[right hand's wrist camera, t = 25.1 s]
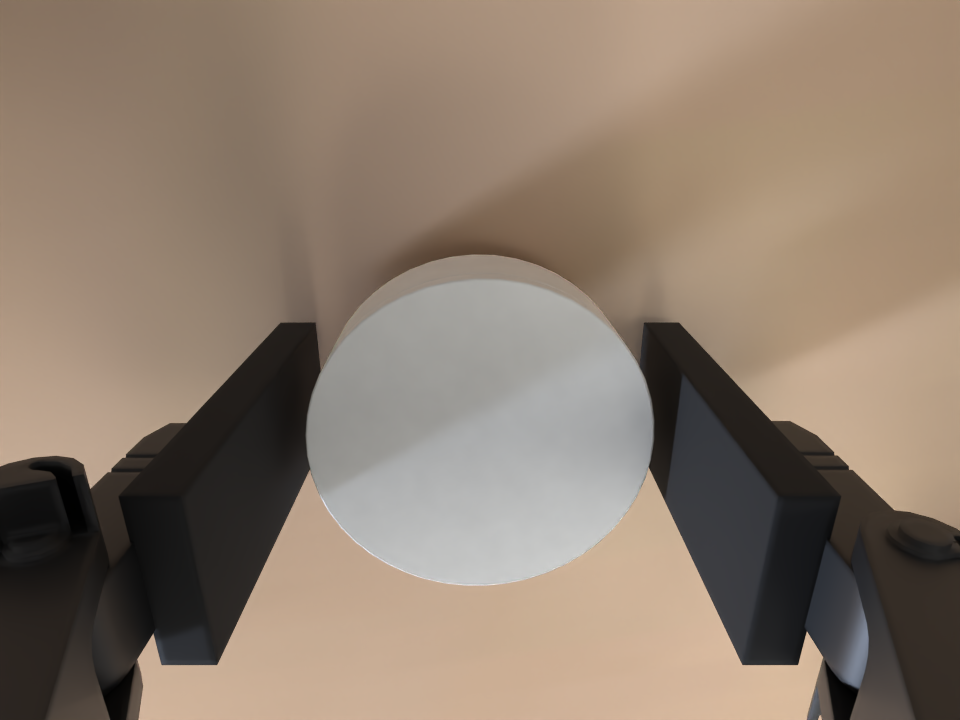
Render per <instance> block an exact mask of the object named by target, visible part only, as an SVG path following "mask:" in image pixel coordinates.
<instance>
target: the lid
mask: <svg viewBox="0 0 960 720" xmlns="http://www.w3.org/2000/svg"><path fill="white" fill-rule="evenodd" d="M305 436H306V449H307V457H308V462H309V466H310V470H311V475H312V477H313V480H314V482H315V485H316V488H317V490H318V493H319V495H320V497H321V498H322V500H323V502H324V504H325V505H326V507H327V509H328V511H329V512H330V514H331V515H332V516H333V518H334V519H335V520H336V521H337V523H338V524H339V525H340V527H341V528H342V529H343V530H344V531H345V532H346V533H347V534H348V535H349V536H350V537H351V538H352V539H353V540H354V541H355V542H356V543H358V544H359V545H360V546H361V547H363V548H364V549H365V550H366V551H368V552H369V553H370V554H372V555H374V556H375V557H377V558H378V559H380V560H382V561H383V562H385V563H387V564H389V565H391V566H393V567H395V568H397V569H399V570H402V571H404V572H406V573H409V574H412V575H415V576H418V577H421V578H424V579H428V580H432V581H437V582H442V583H447V584H457V585H496V584H506V583H511V582H516V581H521V580H525V579H529V578H532V577H535V576H538V575H541V574H545V573H547V572H550V571H552V570H554V569H556V568H559V567H561V566H563V565H565V564H567V563H569V562H570V561H572V560H574V559H576V558H577V557H579V556H581V555H582V554H584V553H585V552H587V551H588V550H589V549H591V548H592V547H593V546H595V545H596V544H597V543H599V542H600V541H601V540H602V539H603V538H604V537H605V536H606V535H607V534H608V533H609V532H610V531H611V530H612V529H613V528H614V527H615V526H616V525H617V524H618V522H619V521H620V520H621V519H622V518H623V516H624V515H625V514H626V513H627V511H628V510H629V508H630V506H631V505H632V503H633V502H634V500H635V499H636V497H637V495H638V493H639V491H640V489H641V486H642V484H643V482H644V480H645V477H646V474H647V471H648V467H649V464H650V461H651V456H652V450H653V443H654V414H653V407H652V399H651V396H650V393H649V389H648V386H647V383H646V379H645V377H644V375H643V373H642V371H641V369H640V367H639V365H638V362H637V360H636V359H635V357H634V356H633V354H632V353H631V351H630V350H629V348H628V347H627V345H626V344H625V342H624V341H623V340H622V338H621V337H620V336H619V334H618V333H617V331H616V330H615V329H614V327H613V326H612V325H611V323H610V322H609V321H608V319H607V318H606V316H605V315H604V314H603V312H602V311H601V310H600V309H599V308H598V307H597V305H596V304H595V303H594V302H593V301H592V300H591V299H590V298H589V297H588V296H587V295H586V294H585V293H584V292H582V291H581V290H580V289H579V288H578V287H576V286H575V285H574V284H573V283H571V282H569V281H568V280H566V279H565V278H563V277H561V276H560V275H558V274H557V273H555V272H552V271H550V270H548V269H546V268H543V267H541V266H539V265H537V264H533V263H530V262H527V261H523V260H520V259H517V258H511V257H504V256H498V255H476V254H472V255H463V256H453V257H448V258H444V259H439V260H435V261H431V262H428V263H425V264H423V265H420V266H418V267H415V268H412V269H410V270H408V271H406V272H404V273H402V274H401V275H399V276H397V277H395V278H393V279H391V280H390V281H389V282H387V283H386V284H384V285H383V286H382V287H380V288H379V289H378V290H376V291H375V292H374V293H373V294H372V295H371V296H370V297H369V298H368V299H366V300H365V301H364V302H363V303H362V304H361V305H360V306H359V308H358V309H357V310H356V311H355V313H354V314H353V315H352V317H351V318H350V319H349V320H348V322H347V323H346V325H345V327H344V329H343V330H342V332H341V334H340V336H339V337H338V339H337V341H336V343H335V345H334V347H333V349H332V351H331V353H330V355H329V357H328V358H327V360H326V362H325V364H324V366H323V368H322V370H321V372H320V374H319V377H318V379H317V382H316V384H315V387H314V389H313V392H312V394H311V399H310V403H309V408H308V412H307V421H306V434H305Z"/></svg>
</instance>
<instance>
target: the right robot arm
mask: <svg viewBox="0 0 960 720" xmlns="http://www.w3.org/2000/svg"><path fill="white" fill-rule="evenodd" d="M640 369H641V371H642V373H643V375H644V377H645V379H646V383H647V386H648V389H649V393H650V396H651V399H652V407H653V414H654V443H653V450H652V456H651V461H650V464H649V468H650V471H651V473H652V475H653V477H654V479H655V481H656V483H657V485H658V487H659V490H660V492H661V494H662V496H663V498H664V500H665V502H666V504H667V506H668V509H669V511H670V513H671V515H672V517H673V519H674V521H675V523H676V525H677V528H678V530H679V532H680V534H681V536H682V538H683V540H684V542H685V544H686V547H687V549H688V551H689V553H690V555H691V557H692V559H693V561H694V563H695V566H696V568H697V570H698V572H699V574H700V576H701V578H702V580H703V582H704V585H705V587H706V589H707V591H708V593H709V595H710V597H711V599H712V601H713V604H714V606H715V608H716V610H717V612H718V614H719V616H720V618H721V620H722V623H723V625H724V627H725V629H726V631H727V633H728V635H729V637H730V640H731V642H732V644H733V646H734V648H735V650H736V652H737V654H738V656H739V659H740V661H741V663H742V665H798V663H799V659H800V655H801V651H802V647H803V643H804V640H805V636H806V632H808V633H809V635H810V637H811V638H812V640H813V641H814V643H815V645H816V646H817V648H818V649H819V651H820V652H821V654H822V656H823V660H822V664H821V668H820V671H819V675H818V679H817V682H816V686H815V689H814V693H813V697H812V700H811V704H810V708H809V711H808V716H807V720H818V718H819V716H820V715H821V717H822V720H960V531H959V530H958V529H956V528H954V527H951V526H949V525H947V524H944V523H942V522H940V521H938V520H935V519H933V518H929V517H926V516H922V515H918V514H915V513H911V512H903V511H894V510H893V509H892V508H891V507H890V506H889V505H888V504H887V503H886V502H885V501H884V500H883V499H882V498H881V497H880V496H879V495H878V494H877V493H876V492H875V491H874V490H873V489H872V488H871V487H870V486H869V485H867V484H866V483H865V482H864V481H863V480H862V479H861V478H860V477H859V476H858V475H857V474H856V473H855V472H854V471H853V470H849V466H848V465H847V464H846V463H845V462H844V461H843V460H842V459H841V458H840V457H838V456H834V452H833V451H832V450H831V449H830V448H829V447H828V446H827V445H826V444H825V443H824V442H823V441H822V440H821V439H820V438H819V437H818V436H817V435H815V434H813V433H811V432H809V431H807V430H806V429H804V428H802V427H800V426H798V425H796V424H794V423H793V422H791V421H771V420H770V419H769V418H768V417H767V416H766V415H765V414H764V413H763V412H762V411H761V410H760V409H759V408H758V407H757V406H756V404H755V403H754V402H753V401H752V400H751V399H750V398H749V397H748V396H747V395H746V394H745V393H744V392H743V391H742V389H741V388H740V387H739V386H738V385H737V384H736V383H735V382H734V381H733V380H732V379H731V378H730V377H729V376H728V375H727V373H726V372H725V371H724V370H723V369H722V368H721V367H720V366H719V365H718V364H717V363H716V362H715V361H714V360H713V359H712V357H711V356H710V355H709V354H708V353H707V352H706V351H705V350H704V349H703V348H702V347H701V346H700V345H699V344H698V343H697V341H696V340H695V339H694V338H693V337H692V336H691V335H690V334H689V333H688V332H687V331H686V330H685V329H684V328H683V327H682V325H681V324H680V323H644V329H643V339H642V349H641V358H640ZM320 372H321V371H320V361H319V352H318V342H317V332H316V323H280V324H279V325H278V326H277V327H276V328H275V329H274V330H273V332H272V333H271V334H270V335H269V336H268V337H267V338H266V339H265V340H264V341H263V342H262V343H261V344H260V345H259V346H258V348H257V349H256V350H255V351H254V352H253V353H252V354H251V355H250V356H249V357H248V358H247V359H246V360H245V361H244V362H243V364H242V365H241V366H240V367H239V368H238V369H237V370H236V371H235V372H234V373H233V374H232V375H231V376H230V377H229V378H228V380H227V381H226V382H225V383H224V384H223V385H222V386H221V387H220V388H219V389H218V390H217V391H216V392H215V393H214V394H213V396H212V397H211V398H210V399H209V400H208V401H207V402H206V403H205V404H204V405H203V406H202V407H201V408H200V409H199V410H198V412H197V413H196V414H195V415H194V416H193V417H192V418H191V419H190V420H189V421H188V422H187V423H170V424H168V425H166V426H164V427H162V428H160V429H159V430H157V431H155V432H153V433H151V434H149V435H147V436H146V437H144V438H143V439H142V440H141V441H140V442H138V443H137V444H136V445H135V446H134V447H133V448H132V449H131V450H130V451H129V452H128V453H127V454H126V458H122V459H121V460H120V461H119V462H118V463H117V464H116V465H115V466H114V467H113V468H112V471H111V472H108V473H107V474H106V475H105V476H104V477H103V478H102V479H100V480H99V481H98V482H97V483H96V484H95V485H94V486H93V487H92V488H91V489H90V487H89V483H88V480H87V476H86V472H85V469H84V465H83V464H82V463H80V462H79V461H77V460H75V459H74V458H68V457H61V456H49V457H36V458H30V459H26V460H22V461H17V462H13V463H9V464H6V465H3V466H1V467H0V720H138V718H139V711H140V704H141V697H142V690H143V683H142V676H141V671H140V668H139V664H138V661H137V659H138V657H139V655H140V654H141V652H142V651H143V649H144V647H145V646H146V644H147V643H148V641H149V639H150V638H151V636H152V635H153V633H154V637H155V641H156V645H157V649H158V653H159V656H160V660H161V664H162V665H217V664H218V662H219V660H220V658H221V656H222V654H223V652H224V649H225V647H226V645H227V643H228V641H229V639H230V637H231V635H232V633H233V630H234V628H235V626H236V624H237V622H238V620H239V618H240V616H241V614H242V611H243V609H244V607H245V605H246V603H247V601H248V599H249V597H250V595H251V592H252V590H253V588H254V586H255V584H256V582H257V580H258V578H259V576H260V573H261V571H262V569H263V567H264V565H265V563H266V561H267V559H268V557H269V554H270V552H271V550H272V548H273V546H274V544H275V542H276V540H277V537H278V535H279V533H280V531H281V529H282V527H283V525H284V523H285V521H286V518H287V516H288V514H289V512H290V510H291V508H292V506H293V504H294V502H295V499H296V497H297V495H298V493H299V491H300V489H301V487H302V485H303V483H304V480H305V478H306V476H307V474H308V472H309V470H310V466H309V462H308V457H307V449H306V436H305V434H306V421H307V412H308V408H309V403H310V399H311V394H312V392H313V389H314V387H315V384H316V382H317V379H318V377H319V374H320Z"/></svg>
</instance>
